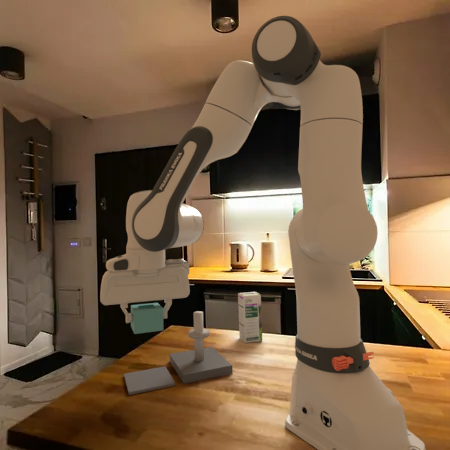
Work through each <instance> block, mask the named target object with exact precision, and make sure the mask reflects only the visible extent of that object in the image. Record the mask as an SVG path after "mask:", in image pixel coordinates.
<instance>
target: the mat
mask: <svg viewBox="0 0 450 450" xmlns="http://www.w3.org/2000/svg"><path fill="white" fill-rule="evenodd" d="M123 376H124V381H125V384H126V388H127V394H128V396H131V395H132V396H133V395H137V394H141V393H146V392H151V391H156V390H160V389H166V388H170V387H175V386H176V382H175V380H174V379H173V377H172V375H171V373H170V372H169V369H167V366H165V365H164V366H159V367H154V368H148V369H143V370H137V371H132V372H127V373H123Z"/></svg>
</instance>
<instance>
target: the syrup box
mask: <svg viewBox="0 0 450 450" xmlns="http://www.w3.org/2000/svg"><path fill="white" fill-rule="evenodd" d="M237 303H238V305H237V306H238V329H239V330H238V331H239V339H240V340H241V341H243V342H244V344H248V343H257V342H262V341H263V325H262V324H263V322H262V319H263V318H262V296H261V294H260V293H259V292H257V291H250V292H249V291H248V292H238V293H237Z"/></svg>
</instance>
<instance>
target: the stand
mask: <svg viewBox="0 0 450 450" xmlns="http://www.w3.org/2000/svg"><path fill="white" fill-rule="evenodd" d="M187 332H188V333H187V334H188V336H187V337H188V338H190V339H193V348H194V349H193V350H185V351H184V350H183V351H178V352H174V353H169V363H170V364H171V366H172V367H173V369H174V371H175V372H176V373H177V375H178V376H179V379H180V380H181V381H182V383H183V384H184V385H185V384H188V383H189V384H190V383H194V382H199V381H203V380H209V379H214V378H218V377H223V376H228V375H232V374H233V364H232V363H231V362H230V361H229V360H227V359H226V358H225V357H224V356H223V355H222V354H220V353H219V352H218V350H217V349H215V348H214V347H213V346H208V347H205V341H204V340H205V339H206V338H208V337H210V330H209V329H207V328H204V311H199V310H197V311H194V312H193V329H190V330H188V331H187Z"/></svg>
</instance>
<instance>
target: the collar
mask: <svg viewBox="0 0 450 450" xmlns="http://www.w3.org/2000/svg"><path fill="white" fill-rule="evenodd" d="M163 309H164V307H163V306H161V305H160V304H159V302H153V303H150V302H149V303H139V304H131V305H130V313H132V314H133V322H131V323H130V328H131V330H132V332H133V334H134V335H137V334H139V335H140V334H146V333H152V332H153V333H154V332H162V331H164V319H163Z"/></svg>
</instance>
